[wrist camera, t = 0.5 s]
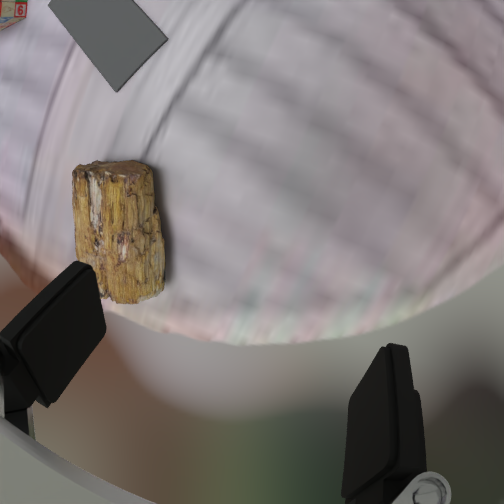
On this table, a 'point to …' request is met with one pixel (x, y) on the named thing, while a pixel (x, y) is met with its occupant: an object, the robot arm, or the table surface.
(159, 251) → the petrified wood
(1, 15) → the stack of blocks
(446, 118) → the table surface
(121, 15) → the mat
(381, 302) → the table surface
